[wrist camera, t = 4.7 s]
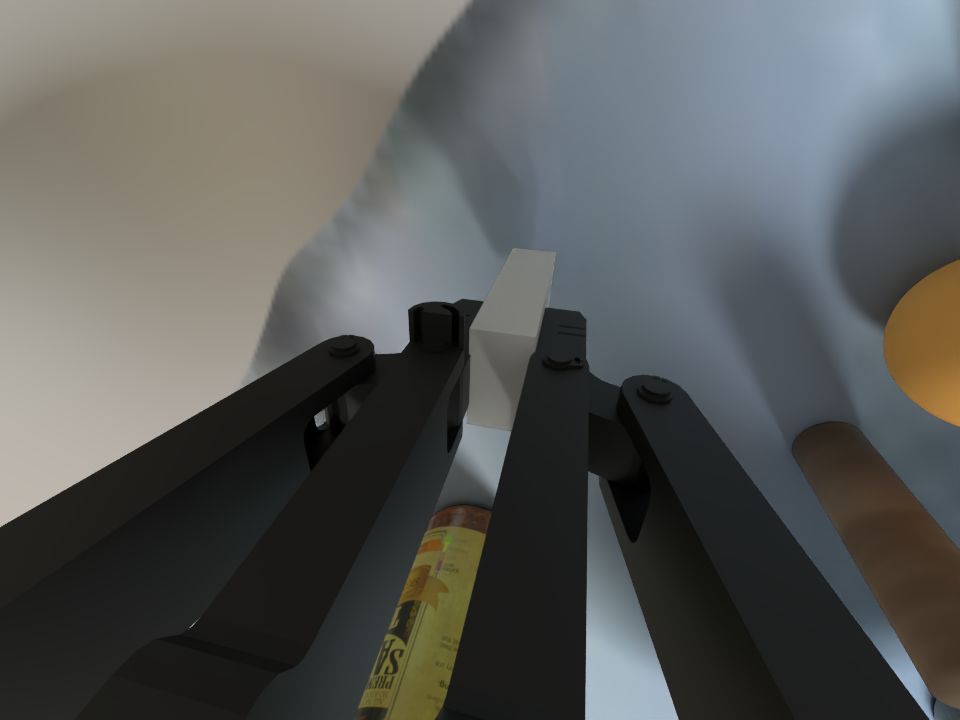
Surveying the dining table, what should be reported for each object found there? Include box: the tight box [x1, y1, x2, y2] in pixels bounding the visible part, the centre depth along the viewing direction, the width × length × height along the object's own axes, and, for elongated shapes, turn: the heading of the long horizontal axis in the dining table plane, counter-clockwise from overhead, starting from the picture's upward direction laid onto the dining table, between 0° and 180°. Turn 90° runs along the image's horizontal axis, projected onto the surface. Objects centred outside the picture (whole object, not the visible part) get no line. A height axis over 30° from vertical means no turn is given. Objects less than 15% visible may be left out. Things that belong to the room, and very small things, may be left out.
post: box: [792, 422, 960, 709], centre depth 15 cm, size 3×3×9 cm
